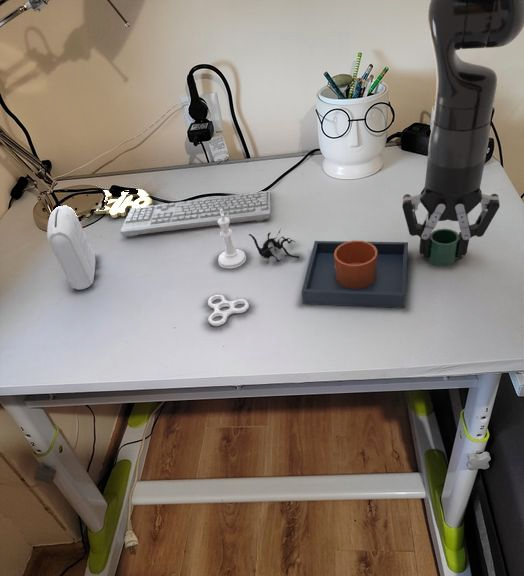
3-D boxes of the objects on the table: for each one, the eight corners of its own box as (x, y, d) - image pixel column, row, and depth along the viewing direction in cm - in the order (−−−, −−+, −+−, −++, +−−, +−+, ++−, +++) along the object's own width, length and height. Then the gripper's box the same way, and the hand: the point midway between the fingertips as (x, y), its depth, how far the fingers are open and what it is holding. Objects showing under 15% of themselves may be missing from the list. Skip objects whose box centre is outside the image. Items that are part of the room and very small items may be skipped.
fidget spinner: (208, 299, 82) (207, 295, 82) (247, 292, 82) (246, 288, 82) (209, 328, 77) (208, 324, 77) (250, 321, 77) (250, 317, 77)
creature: (278, 242, 93) (244, 254, 89) (280, 214, 90) (245, 225, 85) (308, 259, 88) (273, 272, 84) (311, 230, 85) (275, 242, 81)
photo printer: (75, 260, 96) (46, 201, 87) (97, 255, 96) (71, 196, 88) (71, 293, 89) (39, 233, 80) (95, 287, 89) (66, 227, 80)
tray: (407, 254, 83) (408, 241, 82) (404, 308, 75) (405, 295, 73) (315, 252, 87) (314, 240, 86) (302, 303, 79) (301, 291, 77)
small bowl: (455, 249, 83) (459, 228, 80) (456, 266, 80) (460, 245, 77) (427, 249, 84) (429, 228, 81) (427, 265, 81) (429, 244, 78)
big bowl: (378, 264, 82) (378, 240, 79) (375, 290, 78) (375, 266, 75) (337, 263, 84) (336, 240, 80) (332, 288, 79) (331, 265, 76)
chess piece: (221, 271, 87) (209, 221, 80) (216, 256, 91) (203, 206, 84) (249, 264, 88) (239, 213, 81) (242, 249, 91) (232, 199, 84)
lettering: (161, 191, 110) (159, 187, 110) (145, 216, 104) (144, 212, 103) (59, 195, 116) (57, 191, 115) (38, 219, 109) (36, 216, 108)
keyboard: (270, 192, 103) (268, 183, 102) (271, 221, 96) (269, 212, 95) (131, 210, 106) (128, 201, 104) (122, 239, 99) (119, 230, 98)
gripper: (401, 167, 69) (395, 268, 81) (516, 164, 65) (491, 271, 77) (403, 142, 74) (397, 241, 86) (510, 138, 70) (488, 242, 82)
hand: (442, 254), depth 81 cm, fingers closed on small bowl, 4 cm apart
